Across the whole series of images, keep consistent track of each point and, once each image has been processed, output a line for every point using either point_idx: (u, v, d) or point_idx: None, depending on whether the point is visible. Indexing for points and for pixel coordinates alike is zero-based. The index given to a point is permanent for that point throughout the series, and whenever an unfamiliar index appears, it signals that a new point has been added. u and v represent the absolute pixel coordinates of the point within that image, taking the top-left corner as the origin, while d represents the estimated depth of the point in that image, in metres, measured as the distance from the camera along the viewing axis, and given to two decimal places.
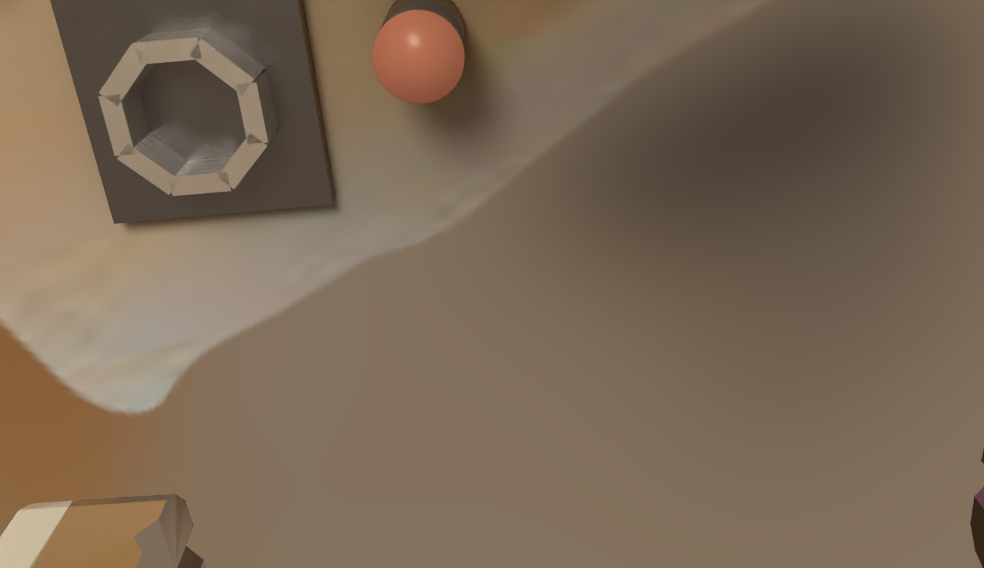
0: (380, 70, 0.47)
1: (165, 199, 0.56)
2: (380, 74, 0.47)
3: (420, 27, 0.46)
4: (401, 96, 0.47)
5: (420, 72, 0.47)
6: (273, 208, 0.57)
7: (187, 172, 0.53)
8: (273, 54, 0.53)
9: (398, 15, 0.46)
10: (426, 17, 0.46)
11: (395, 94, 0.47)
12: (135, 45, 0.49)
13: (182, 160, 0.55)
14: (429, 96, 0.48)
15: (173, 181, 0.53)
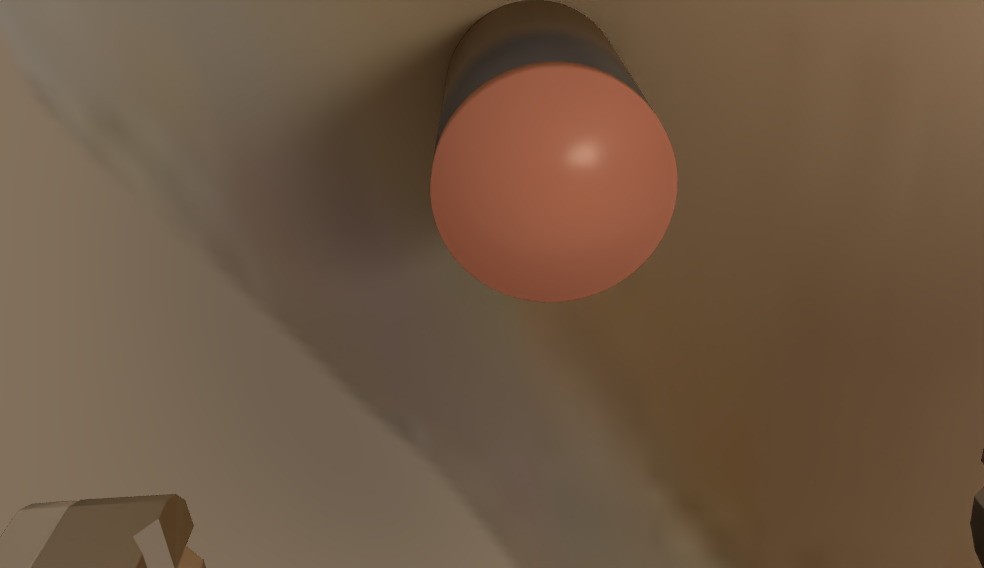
0: (523, 89, 0.16)
1: None
2: (511, 88, 0.16)
3: (633, 199, 0.17)
4: (449, 144, 0.17)
5: (515, 196, 0.17)
6: None
7: None
8: None
9: (668, 143, 0.17)
10: (658, 213, 0.18)
11: (455, 128, 0.17)
12: None
13: None
14: (450, 217, 0.18)
15: None
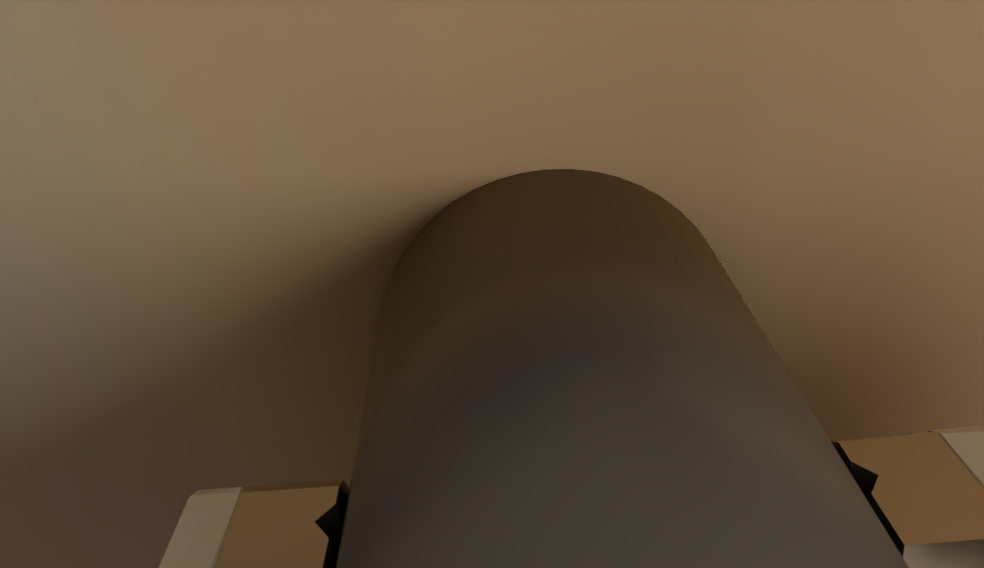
0: None
1: None
2: None
3: None
4: None
5: None
6: None
7: None
8: None
9: None
10: None
11: None
12: None
13: None
14: None
15: None
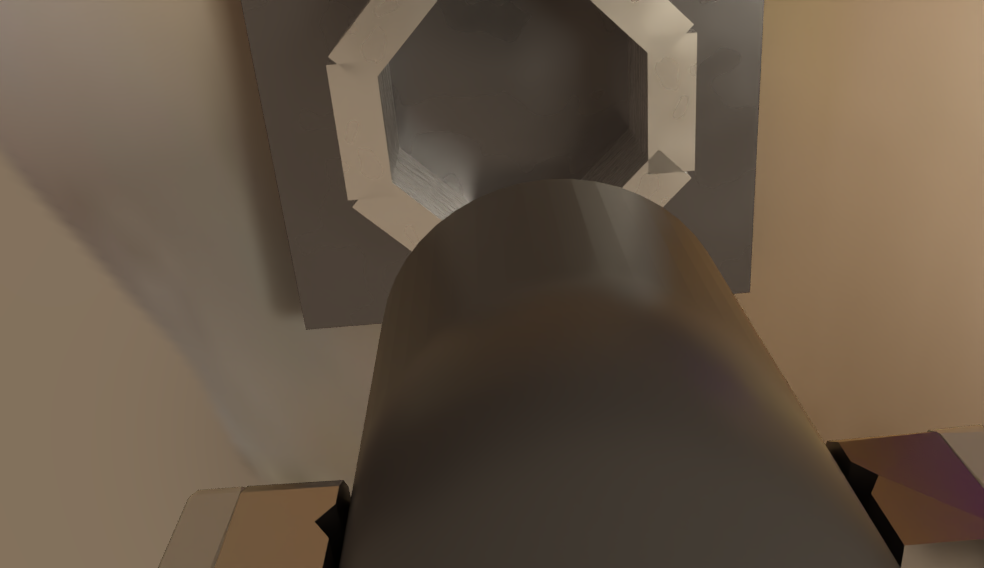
0: None
1: None
2: None
3: None
4: None
5: None
6: (287, 219, 0.27)
7: (382, 96, 0.23)
8: None
9: None
10: None
11: None
12: (689, 32, 0.22)
13: None
14: None
15: (364, 74, 0.22)
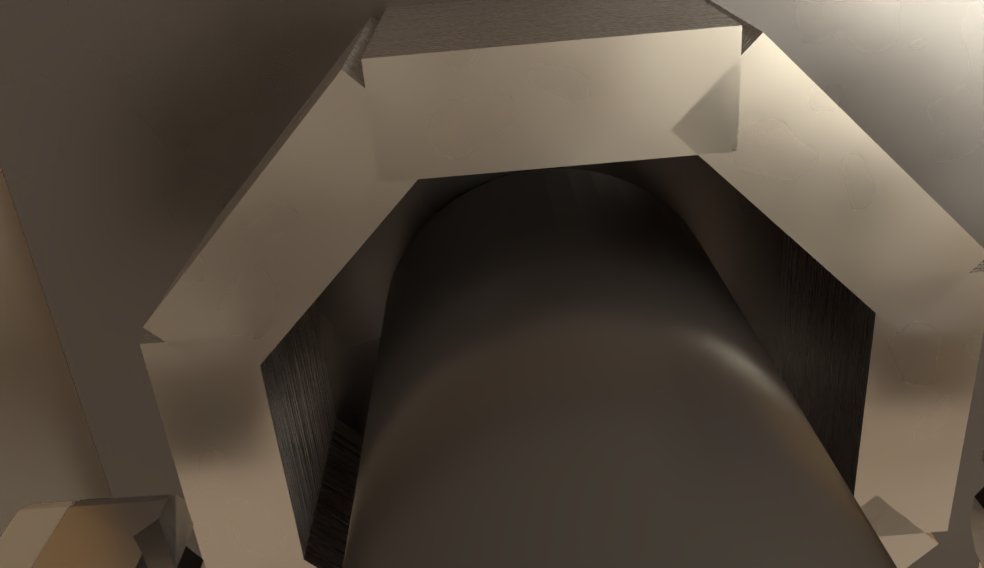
0: None
1: (91, 123, 0.11)
2: None
3: None
4: None
5: None
6: None
7: (279, 387, 0.10)
8: None
9: None
10: None
11: None
12: (974, 269, 0.09)
13: None
14: None
15: (230, 360, 0.10)
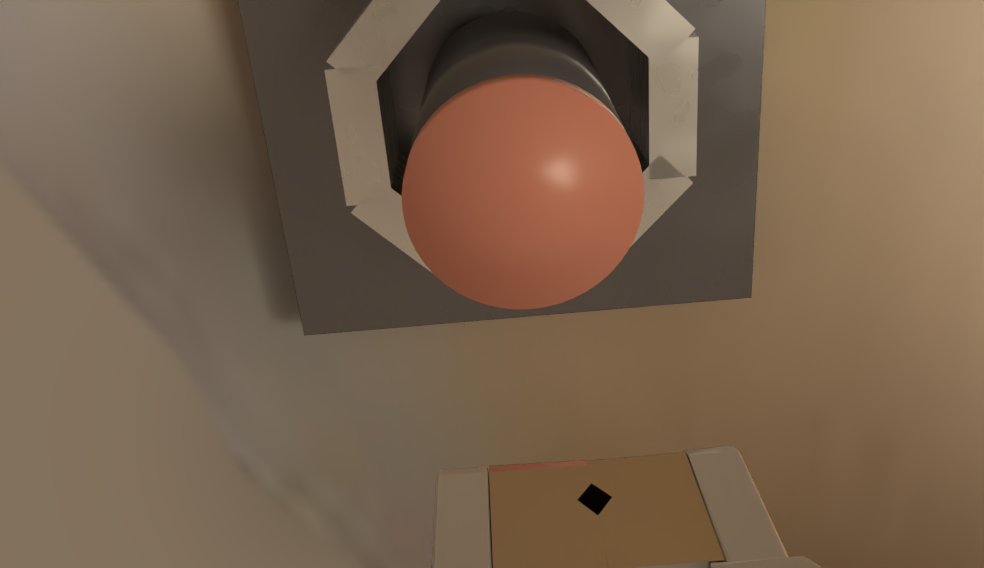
0: (492, 100, 0.17)
1: None
2: (481, 100, 0.17)
3: (601, 209, 0.18)
4: (420, 153, 0.17)
5: (485, 205, 0.18)
6: (285, 224, 0.26)
7: (381, 101, 0.22)
8: None
9: (635, 156, 0.17)
10: (625, 224, 0.18)
11: (426, 137, 0.17)
12: (690, 36, 0.21)
13: None
14: (421, 224, 0.18)
15: (363, 79, 0.22)
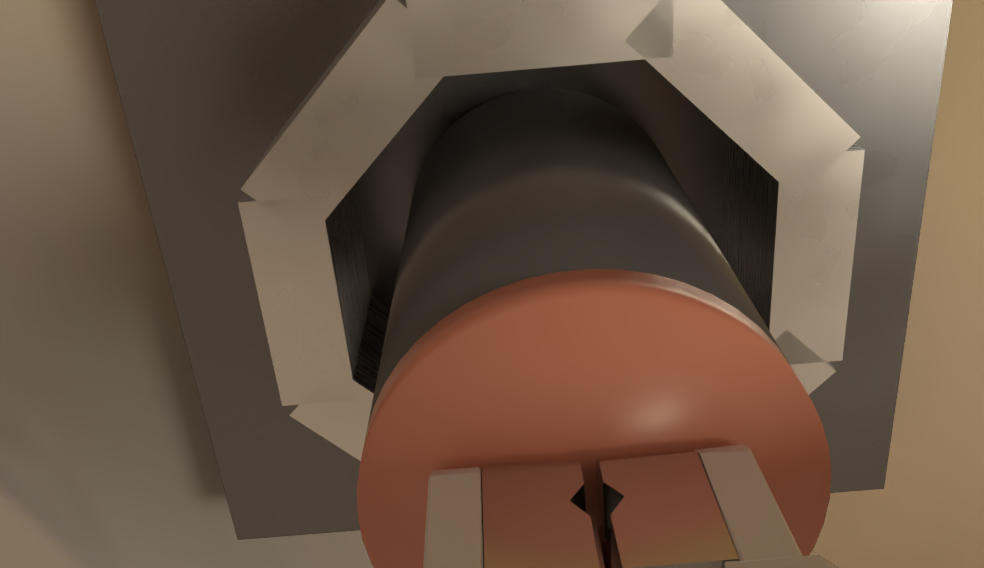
0: (546, 331, 0.08)
1: (188, 51, 0.15)
2: (523, 328, 0.08)
3: None
4: (396, 422, 0.09)
5: None
6: (204, 394, 0.18)
7: (336, 244, 0.14)
8: None
9: (821, 433, 0.09)
10: None
11: (407, 394, 0.08)
12: (850, 149, 0.13)
13: None
14: (395, 541, 0.09)
15: (303, 216, 0.13)
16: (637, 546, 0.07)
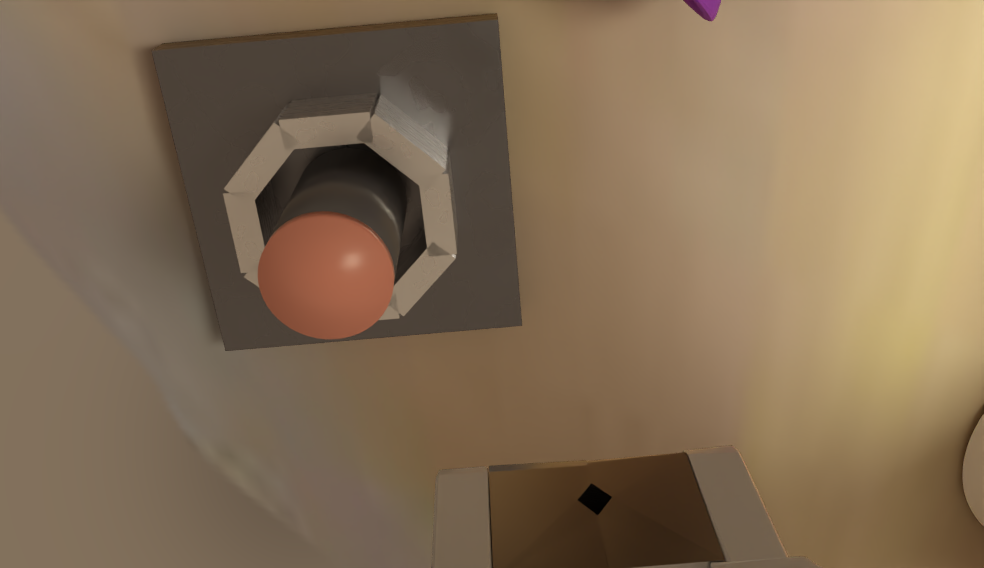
0: (305, 227, 0.31)
1: (203, 134, 0.38)
2: (299, 226, 0.31)
3: (370, 285, 0.32)
4: (267, 254, 0.31)
5: (305, 281, 0.32)
6: (210, 279, 0.40)
7: (260, 209, 0.36)
8: (424, 297, 0.41)
9: (386, 256, 0.32)
10: (384, 293, 0.32)
11: (269, 245, 0.31)
12: (444, 173, 0.36)
13: None
14: (269, 291, 0.32)
15: (247, 198, 0.36)
16: (623, 547, 0.07)
